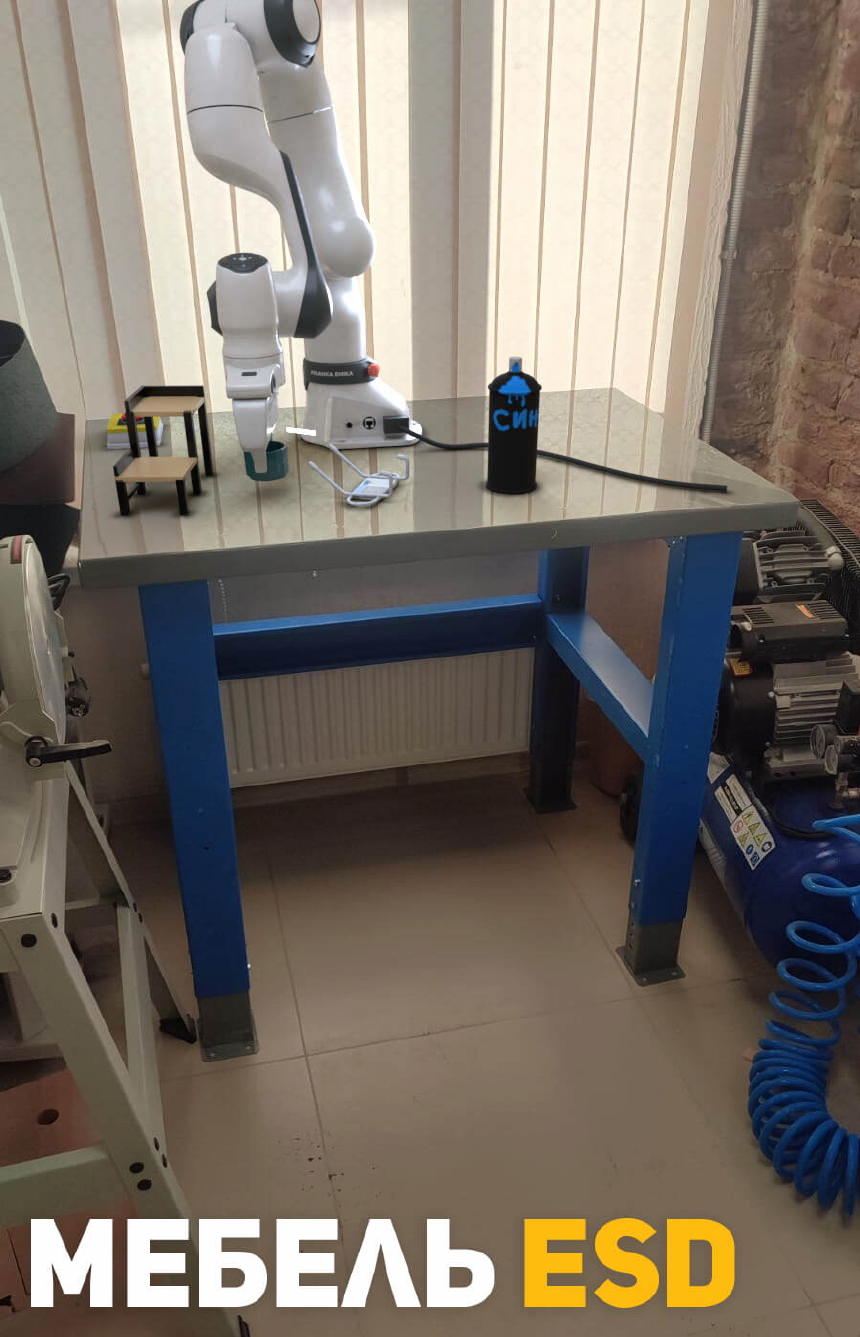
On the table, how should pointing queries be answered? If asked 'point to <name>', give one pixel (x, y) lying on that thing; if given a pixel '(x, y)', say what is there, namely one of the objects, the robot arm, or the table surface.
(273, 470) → the cup
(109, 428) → the emergency button
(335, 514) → the table surface
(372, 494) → the wall mount rack
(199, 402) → the rack
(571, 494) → the table surface
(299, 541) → the table surface
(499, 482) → the aerosol can
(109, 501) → the table surface
